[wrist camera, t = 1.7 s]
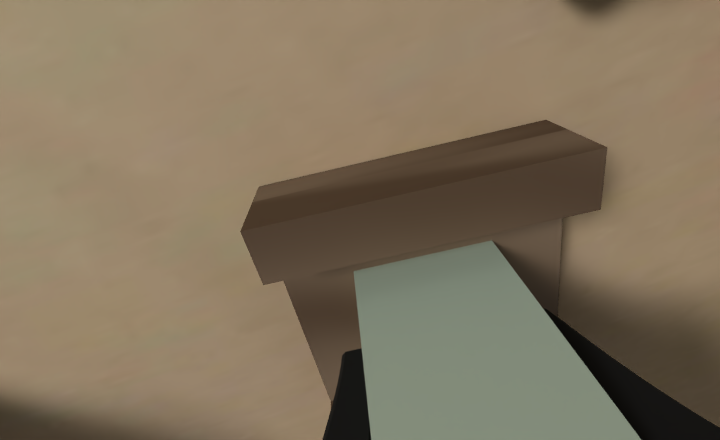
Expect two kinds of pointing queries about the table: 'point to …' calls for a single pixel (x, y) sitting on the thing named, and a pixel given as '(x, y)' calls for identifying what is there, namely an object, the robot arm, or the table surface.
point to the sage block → (472, 356)
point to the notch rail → (420, 221)
